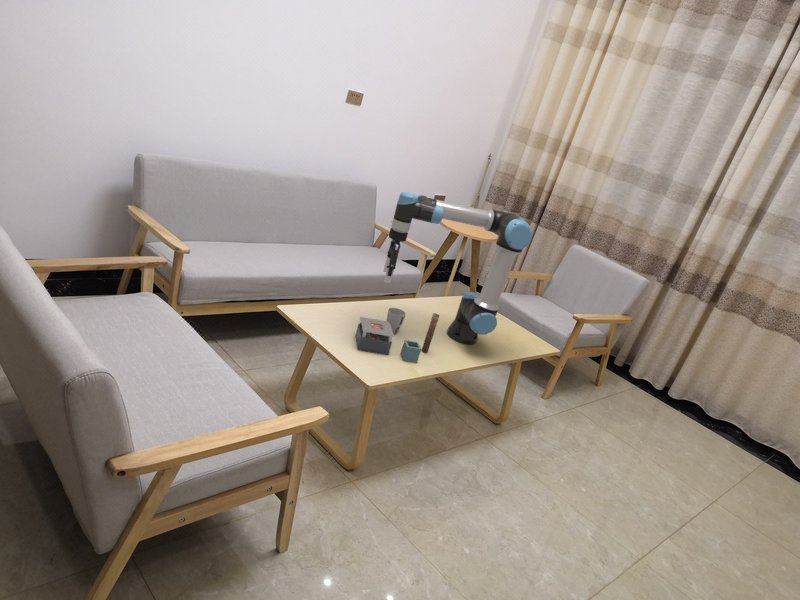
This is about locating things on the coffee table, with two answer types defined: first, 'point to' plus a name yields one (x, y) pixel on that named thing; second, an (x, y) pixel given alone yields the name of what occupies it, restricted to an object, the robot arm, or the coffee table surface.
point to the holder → (410, 351)
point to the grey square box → (374, 336)
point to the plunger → (376, 328)
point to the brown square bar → (430, 333)
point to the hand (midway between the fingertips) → (386, 277)
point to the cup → (395, 318)
